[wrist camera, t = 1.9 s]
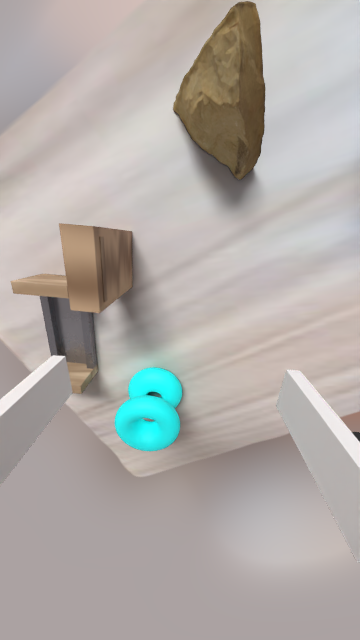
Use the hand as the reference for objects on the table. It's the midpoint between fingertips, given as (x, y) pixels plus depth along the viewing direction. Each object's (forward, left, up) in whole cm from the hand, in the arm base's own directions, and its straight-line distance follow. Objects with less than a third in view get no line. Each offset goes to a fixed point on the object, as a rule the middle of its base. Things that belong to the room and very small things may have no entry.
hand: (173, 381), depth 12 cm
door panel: (-4, -10, -21) cm, 23 cm away
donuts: (+19, -4, -21) cm, 28 cm away
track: (+8, -19, -21) cm, 29 cm away
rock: (-19, +2, -21) cm, 29 cm away
